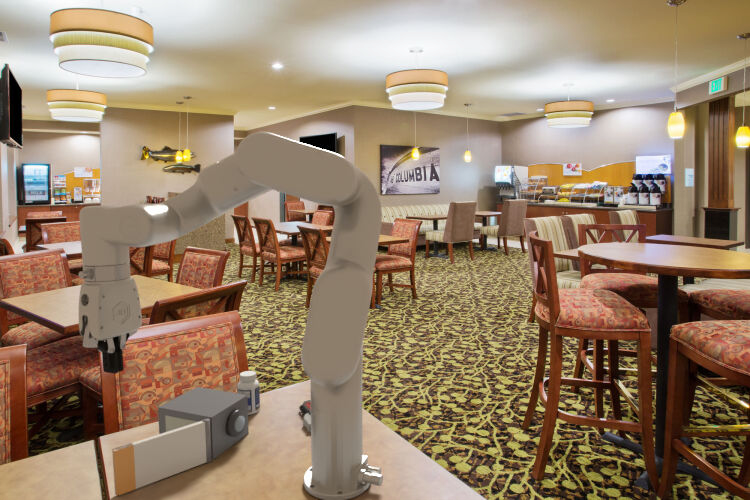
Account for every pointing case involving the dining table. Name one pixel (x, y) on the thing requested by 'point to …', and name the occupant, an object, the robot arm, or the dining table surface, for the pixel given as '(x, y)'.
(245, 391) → the pill bottle
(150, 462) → the side door
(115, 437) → the dining table surface
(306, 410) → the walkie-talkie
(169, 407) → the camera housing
